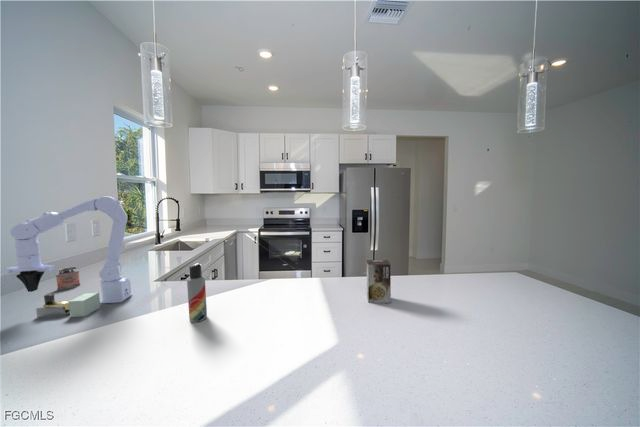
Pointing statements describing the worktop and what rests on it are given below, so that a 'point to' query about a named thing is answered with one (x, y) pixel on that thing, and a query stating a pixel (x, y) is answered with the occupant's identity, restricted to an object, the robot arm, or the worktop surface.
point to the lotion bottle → (196, 294)
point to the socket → (84, 304)
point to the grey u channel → (52, 312)
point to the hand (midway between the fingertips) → (32, 290)
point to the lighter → (67, 278)
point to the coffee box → (378, 281)
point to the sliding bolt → (51, 302)
